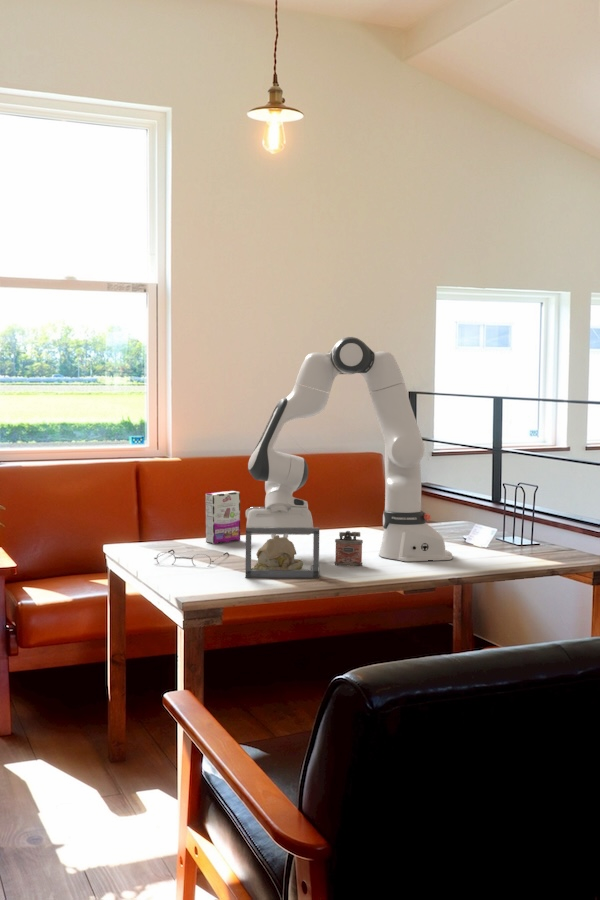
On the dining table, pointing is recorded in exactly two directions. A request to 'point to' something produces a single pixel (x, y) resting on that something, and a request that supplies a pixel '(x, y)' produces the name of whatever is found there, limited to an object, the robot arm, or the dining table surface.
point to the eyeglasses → (186, 557)
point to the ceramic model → (277, 555)
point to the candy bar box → (222, 517)
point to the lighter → (348, 549)
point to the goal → (283, 573)
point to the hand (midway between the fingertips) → (279, 544)
